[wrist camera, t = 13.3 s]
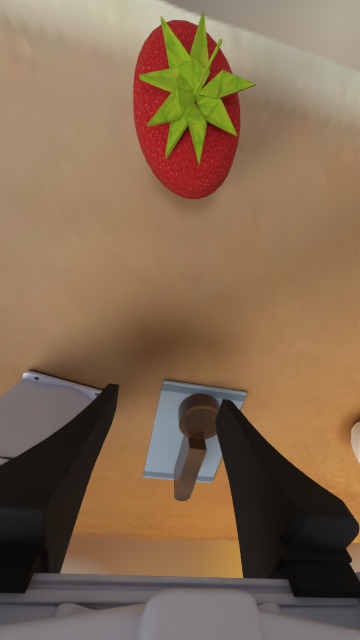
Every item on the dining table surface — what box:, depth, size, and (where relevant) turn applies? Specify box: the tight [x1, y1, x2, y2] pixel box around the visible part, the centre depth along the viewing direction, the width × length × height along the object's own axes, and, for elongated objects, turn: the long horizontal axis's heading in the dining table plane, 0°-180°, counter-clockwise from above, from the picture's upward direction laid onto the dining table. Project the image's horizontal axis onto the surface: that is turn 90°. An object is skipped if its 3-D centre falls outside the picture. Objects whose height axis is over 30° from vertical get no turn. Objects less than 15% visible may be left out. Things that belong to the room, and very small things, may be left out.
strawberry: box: [133, 12, 256, 199], centre depth 11 cm, size 6×8×10 cm
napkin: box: [143, 380, 247, 483], centre depth 26 cm, size 11×18×1 cm, turn 168°
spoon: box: [174, 394, 220, 501], centre depth 25 cm, size 15×6×3 cm, turn 168°
